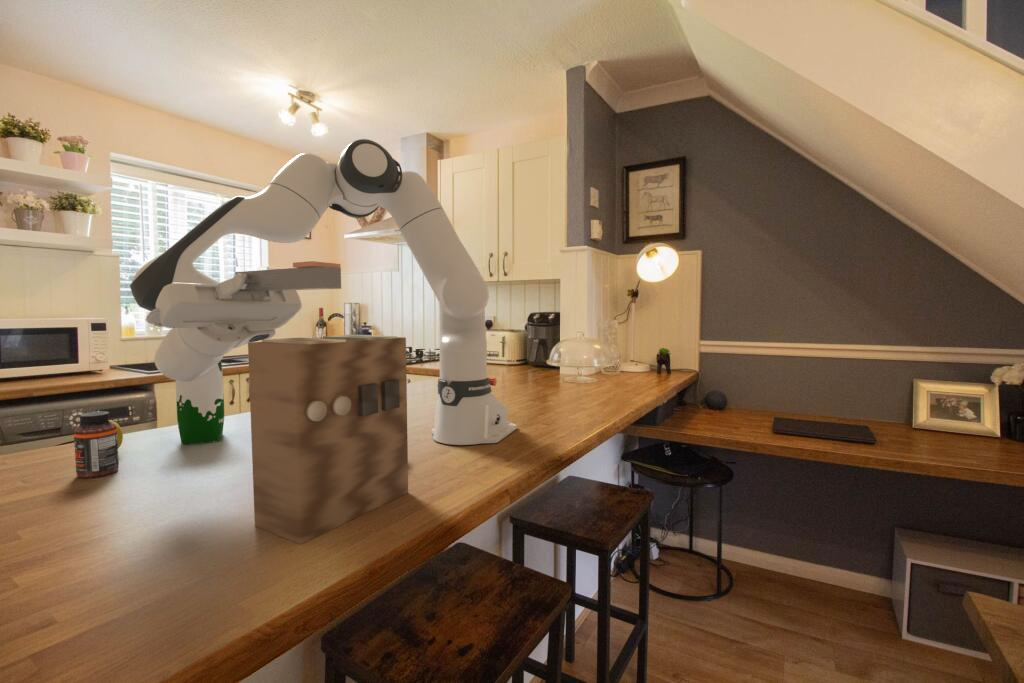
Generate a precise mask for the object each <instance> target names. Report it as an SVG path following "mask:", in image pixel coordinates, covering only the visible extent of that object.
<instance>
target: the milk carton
mask: <svg viewBox="0 0 1024 683" xmlns="http://www.w3.org/2000/svg"><path fill="white" fill-rule="evenodd" d="M222 365H223V363H222V361H220V362H219V363H218V364H217V365H215V366H214V367H213V368H212V369H211V370H209V371H208V372H207V373H205V374H204V375H202V376H201V377H199V378H197V379H195V380H192V381H186V382H181V381H176V380H175V398H176V401H175V402H176V419H177V427H178V433H179V438H180V444H181V445H182V444H186V445H191V444H190V443H196V444H202V443H201V442H206V443H214V442H213V441H216V442H219V441H220V439H221V437H222V436H223V432H224V422H225V395H224V376H223V366H222Z"/></svg>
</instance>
